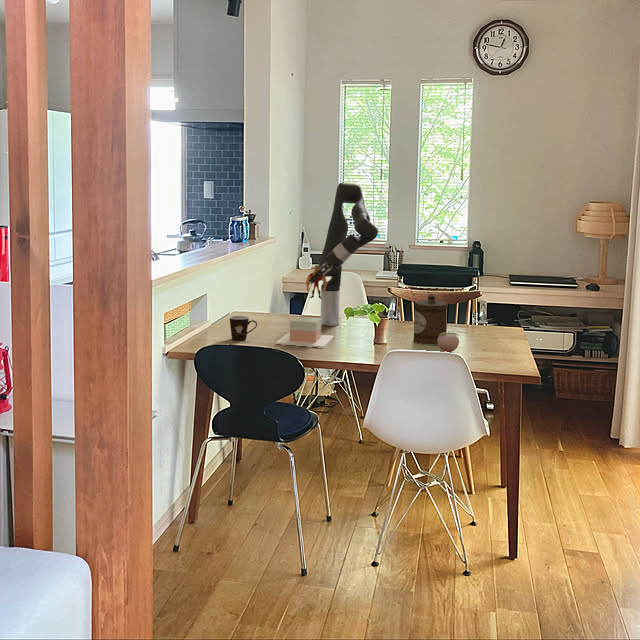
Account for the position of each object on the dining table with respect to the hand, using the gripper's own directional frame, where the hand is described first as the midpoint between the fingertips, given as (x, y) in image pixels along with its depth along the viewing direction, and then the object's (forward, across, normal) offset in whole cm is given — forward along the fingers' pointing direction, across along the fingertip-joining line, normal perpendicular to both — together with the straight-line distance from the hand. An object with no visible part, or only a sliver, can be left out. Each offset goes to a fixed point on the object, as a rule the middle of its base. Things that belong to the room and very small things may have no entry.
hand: (311, 281), depth 359 cm
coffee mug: (+41, +6, -2) cm, 42 cm away
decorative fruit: (-24, +5, +63) cm, 68 cm away
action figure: (+4, 0, +7) cm, 8 cm away
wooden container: (-17, -17, +56) cm, 61 cm away
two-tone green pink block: (+21, +1, +18) cm, 28 cm away
